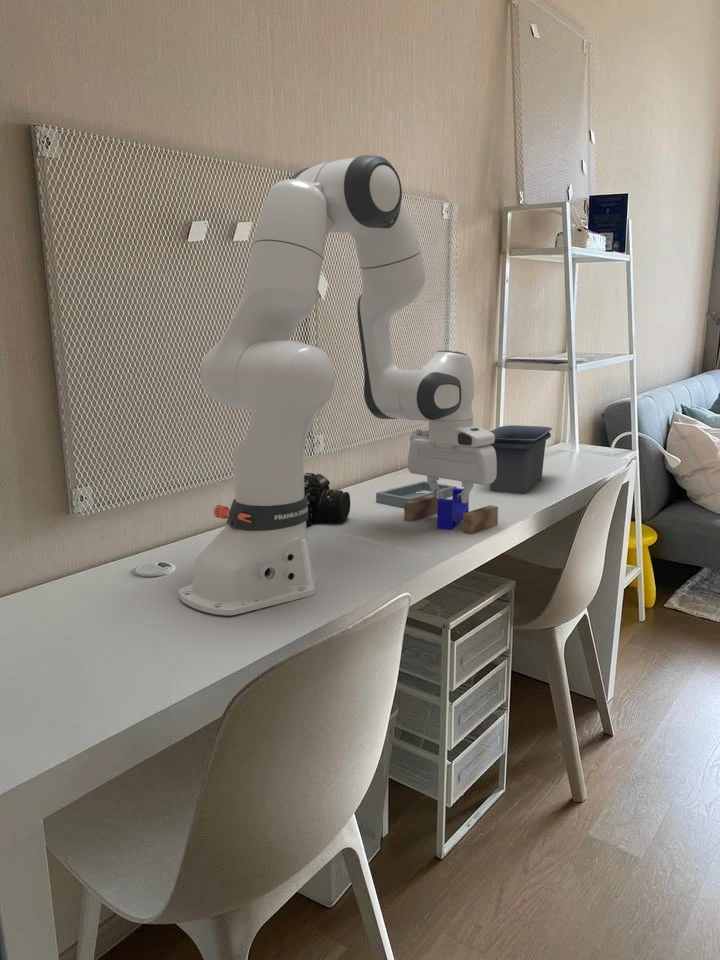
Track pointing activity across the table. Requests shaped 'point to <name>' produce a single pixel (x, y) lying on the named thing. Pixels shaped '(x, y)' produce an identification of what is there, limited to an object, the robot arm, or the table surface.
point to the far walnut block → (420, 508)
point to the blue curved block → (451, 511)
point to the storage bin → (519, 457)
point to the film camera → (324, 500)
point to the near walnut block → (480, 519)
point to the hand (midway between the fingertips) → (449, 500)
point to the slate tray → (410, 493)
